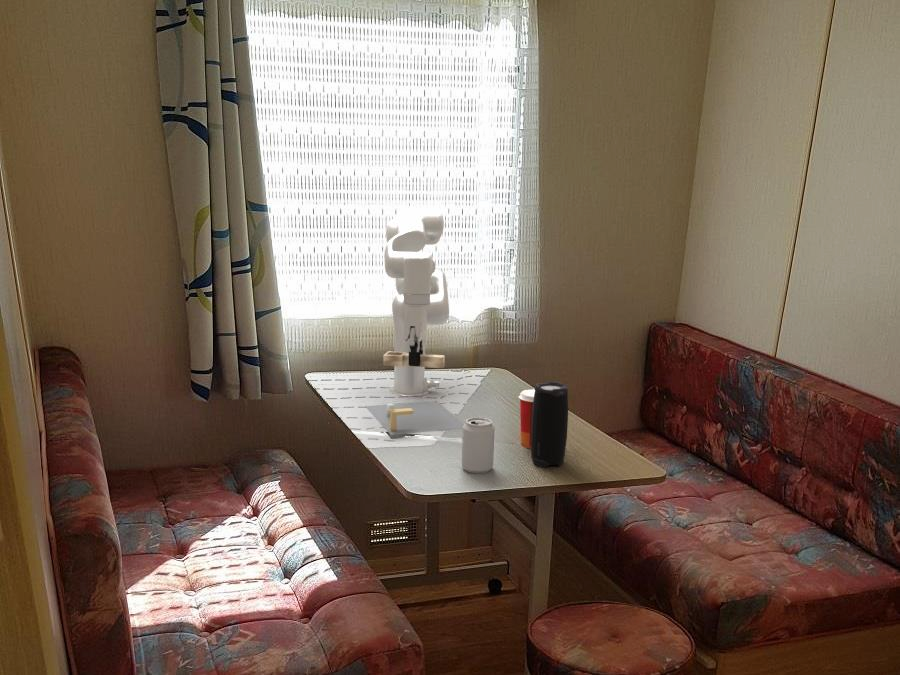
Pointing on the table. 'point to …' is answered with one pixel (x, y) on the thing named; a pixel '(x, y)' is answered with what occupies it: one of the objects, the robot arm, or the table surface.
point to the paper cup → (526, 416)
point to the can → (478, 445)
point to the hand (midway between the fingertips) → (415, 363)
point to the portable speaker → (549, 424)
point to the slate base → (414, 418)
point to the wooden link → (403, 360)
